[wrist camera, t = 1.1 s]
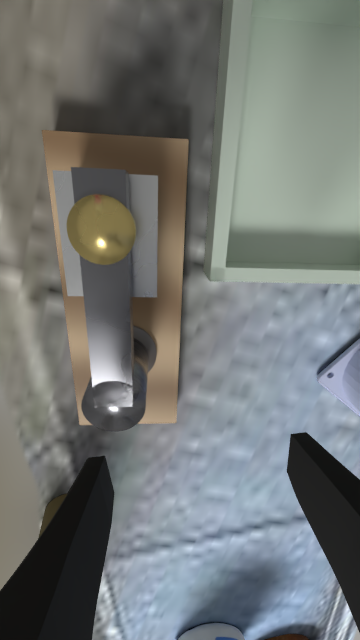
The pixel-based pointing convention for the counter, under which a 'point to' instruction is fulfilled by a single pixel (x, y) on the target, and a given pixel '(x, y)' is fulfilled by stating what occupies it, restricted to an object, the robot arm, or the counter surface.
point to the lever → (108, 297)
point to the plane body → (164, 310)
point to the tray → (286, 144)
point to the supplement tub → (213, 632)
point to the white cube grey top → (145, 244)
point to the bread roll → (289, 637)
